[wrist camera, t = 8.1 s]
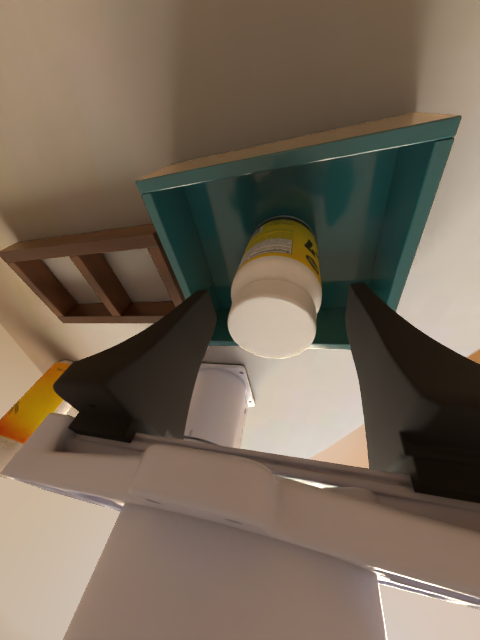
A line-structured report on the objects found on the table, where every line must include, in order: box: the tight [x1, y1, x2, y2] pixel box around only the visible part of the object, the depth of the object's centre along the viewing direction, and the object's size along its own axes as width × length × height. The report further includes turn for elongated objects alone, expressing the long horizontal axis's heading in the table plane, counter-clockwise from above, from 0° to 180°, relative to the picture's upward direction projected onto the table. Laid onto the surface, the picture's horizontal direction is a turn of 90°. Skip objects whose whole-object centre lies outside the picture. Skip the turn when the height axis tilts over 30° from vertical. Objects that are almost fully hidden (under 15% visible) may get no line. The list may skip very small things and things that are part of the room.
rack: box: [0, 224, 185, 323], centre depth 21 cm, size 8×16×2 cm, turn 101°
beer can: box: [0, 360, 73, 479], centre depth 33 cm, size 6×6×15 cm
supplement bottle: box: [228, 215, 322, 359], centre depth 13 cm, size 5×5×8 cm
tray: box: [135, 112, 462, 350], centre depth 15 cm, size 12×13×4 cm
